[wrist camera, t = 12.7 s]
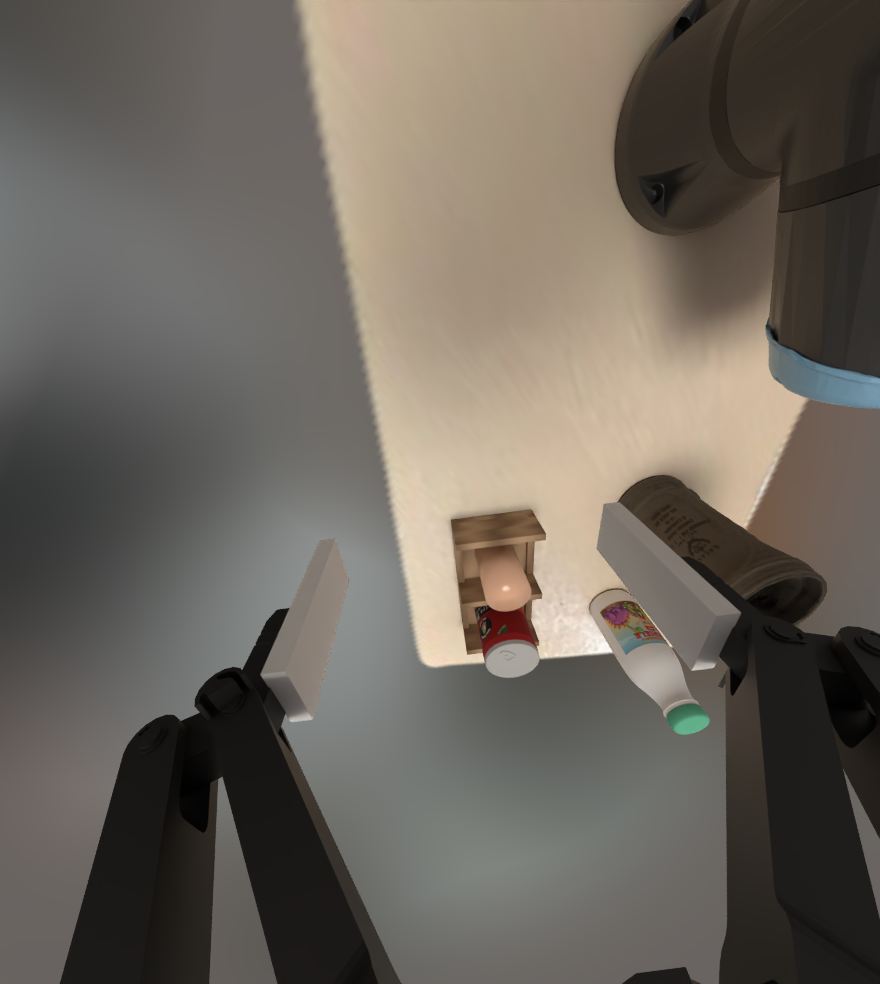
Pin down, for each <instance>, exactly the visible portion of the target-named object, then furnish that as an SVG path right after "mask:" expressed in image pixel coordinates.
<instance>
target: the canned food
mask: <svg viewBox="0 0 880 984" xmlns="http://www.w3.org/2000/svg"><path fill="white" fill-rule="evenodd" d="M474 609H475V615H476V620H477V625H478V630H479V635H480V641H481V646H482V651H483V656H484V661H485V664H486V667H487V669H488V670H489V671H490V672H491V673H492V674H494V675H496V676H499V677H505V678H506V677H507V678H511V677H517V676H522V675H524V674H526V673H529V672H530V671H532V670H533V669H534V668H535V667H536V666H537V664H538V662H539V653H538V649H537V647H536V643H535V641H534V638H533V635H532V633H531V630H530V627H529V624H528V622H527V619H526V616H525V614H524V611H523V608H522V607H520V608H518V609H516V610H513V611H497V610H494V609H492V608H491V607H490V606H489V605H487V606H479V607H474Z"/></svg>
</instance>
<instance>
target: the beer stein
mask: <svg viewBox="0 0 880 984" xmlns="http://www.w3.org/2000/svg"><path fill="white" fill-rule="evenodd" d="M620 503H621V504H622V505H623V506H624V507H625V508H627V509H628V510H629V511H630V512H631V513H632V514H633V515H634V516H635V517H636V518H638V519H639V520H640V521H641V522H642V523H643V524H644V525H645V526H646V527H647V528H649V529H650V530H651V531H652V532H653V533H654V534H655V535H656V536H657V537H658V538H660V539H661V540H662V541H663V542H664V543H665V544H666V545H667V546H668V547H669V548H671V549H672V550H673V551H674V552H675V553H676V554H677V555H678V556H679V557H687V556H689V557H691V558H693V559H695V560H697V561H699V562H701V563H703V564H704V565H706V566H707V567H708V568H709V569H710V570H711V571H713V572H714V573H715V574H716V576H718V577H720V578H721V579H722V580H723V581H724V582H725V584H728V585H729V586H730V587H731V588H732V589H734V590H735V591H736V592H737V593H738V594H739V595H741V596H742V597H743V598H744V599H745V600H746V601H748V602H749V603H750V604H751V605H752V606H753V607H755V608H756V609H757V610H758V611H759V612H760V613H762V614H763V615H764V616H771V617H775V618H779V619H782V620H784V621H787V622H789V623H791V624H793V625H794V626H796V627H798V626H799V624H800V622H802V621H803V620H805V619H806V618H807V617H809V616H810V615H811V614H812V613H813V612H814V611H815V610H816V609H817V607H818V606H819V605H820V604H821V602H822V601H823V599H824V597H825V595H826V592H827V583H826V581H825V580H824V579H823V577H822V576H821V575H819V574H818V573H817V572H815V571H814V570H813V569H812V568H811V567H810V566H809V565H808V564H806V563H805V562H803V561H801V560H799V559H798V558H794V557H792V556H790V555H787V554H786V553H784V552H781V551H779V550H777V549H775V548H773V547H771V546H769V545H767V544H765V543H763V542H761V541H760V540H758V539H757V538H756V537H755V536H753V535H751V534H750V533H748V532H747V531H746V530H745V529H744V528H743V527H741V526H739V525H737V524H736V523H734V522H733V521H731V520H730V519H729V518H727V517H725V516H724V515H722V514H721V513H719V512H718V511H716V510H715V509H713V508H712V507H710V506H709V505H708V504H706V503H705V502H704V501H702V500H701V499H700V497H699V496H698V495H697V494H696V493H695V492H694V491H692V490H691V489H688V488H687V487H686V486H685V485H684V484H683V483H682V482H681V481H679V480H678V479H676V478H673V477H670V476H657V477H652V478H648V479H645V480H643V481H641V482H639V483H637V484H636V485H634V486H633V487H632V488H630V489H629V490H628V491H627V492H626V493H625V495H624V496H623V497H622V498H621V500H620Z"/></svg>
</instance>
